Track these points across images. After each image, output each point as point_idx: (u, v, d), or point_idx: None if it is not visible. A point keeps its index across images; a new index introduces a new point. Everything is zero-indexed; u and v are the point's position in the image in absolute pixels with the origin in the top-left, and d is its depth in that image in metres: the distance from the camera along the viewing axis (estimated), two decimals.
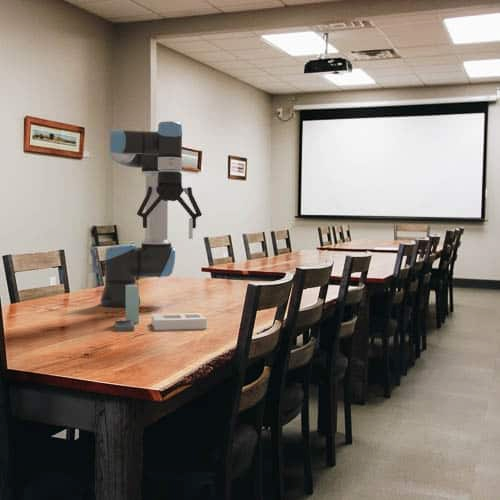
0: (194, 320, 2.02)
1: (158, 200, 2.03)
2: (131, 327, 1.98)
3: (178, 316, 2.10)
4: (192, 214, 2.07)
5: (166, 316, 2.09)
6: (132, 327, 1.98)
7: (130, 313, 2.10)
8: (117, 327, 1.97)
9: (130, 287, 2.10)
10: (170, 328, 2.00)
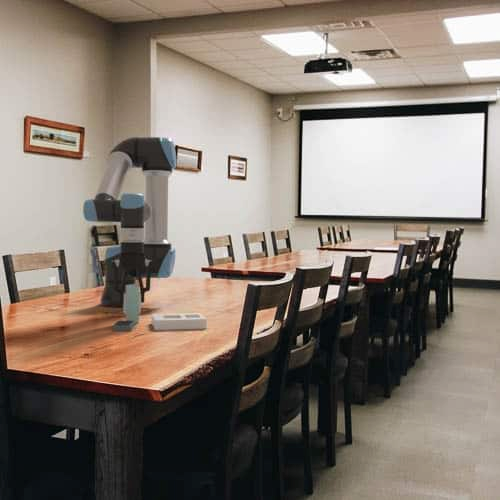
0: (194, 320, 2.02)
1: (126, 272, 2.10)
2: (128, 327, 1.97)
3: (178, 316, 2.10)
4: (141, 288, 2.11)
5: (166, 316, 2.09)
6: (129, 327, 1.97)
7: (130, 313, 2.10)
8: (114, 327, 1.97)
9: (130, 287, 2.10)
10: (170, 328, 2.00)
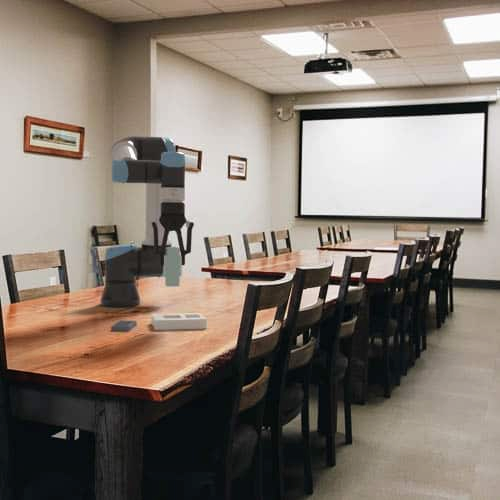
0: (194, 320, 2.02)
1: (166, 233, 2.03)
2: (126, 327, 1.97)
3: (178, 316, 2.10)
4: (182, 250, 2.05)
5: (166, 316, 2.09)
6: (127, 327, 1.97)
7: (171, 275, 2.03)
8: (113, 327, 1.97)
9: (171, 249, 2.03)
10: (170, 328, 2.00)
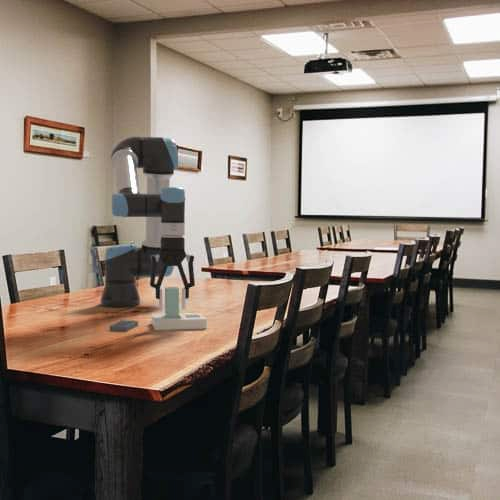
0: (194, 320, 2.02)
1: (165, 268, 2.03)
2: (124, 327, 1.97)
3: None
4: (186, 284, 2.06)
5: None
6: (125, 327, 1.97)
7: (170, 316, 2.04)
8: (111, 326, 1.97)
9: (170, 289, 2.04)
10: (170, 328, 2.00)
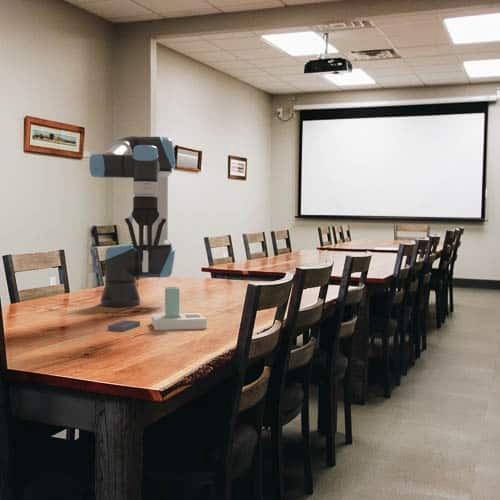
0: (194, 320, 2.02)
1: (141, 228, 2.00)
2: (121, 327, 1.97)
3: None
4: (149, 246, 2.02)
5: None
6: (122, 328, 1.97)
7: (170, 316, 2.04)
8: (109, 326, 1.98)
9: (170, 289, 2.04)
10: (170, 328, 2.00)
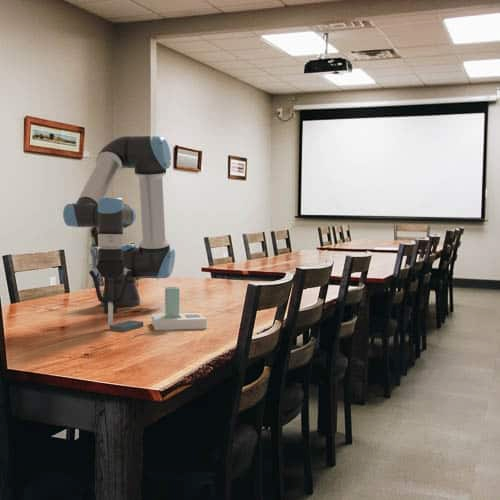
0: (194, 320, 2.02)
1: (106, 281, 1.98)
2: (122, 328, 1.96)
3: None
4: (114, 298, 2.00)
5: None
6: (123, 328, 1.96)
7: (170, 316, 2.04)
8: (111, 326, 1.98)
9: (170, 289, 2.04)
10: (170, 328, 2.00)
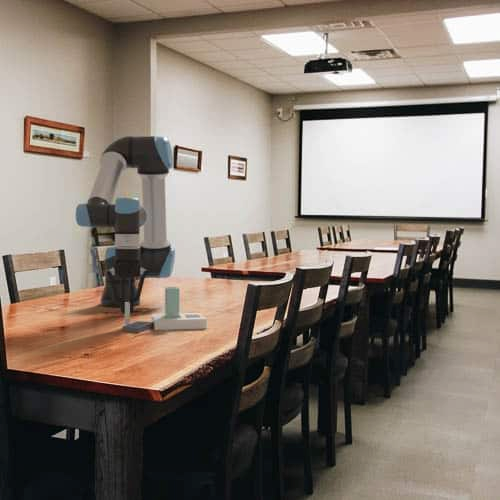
0: (194, 320, 2.02)
1: (123, 280, 2.00)
2: (136, 328, 1.95)
3: None
4: (131, 298, 2.01)
5: None
6: (137, 329, 1.95)
7: (170, 316, 2.04)
8: (124, 327, 1.96)
9: (170, 289, 2.04)
10: (170, 328, 2.00)
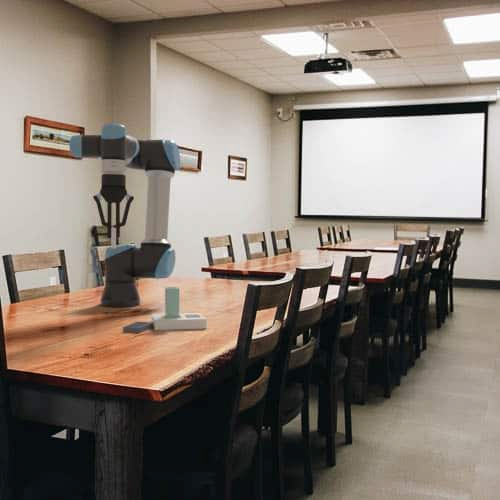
0: (194, 320, 2.02)
1: (109, 205, 2.05)
2: (137, 329, 1.95)
3: None
4: (117, 223, 2.06)
5: None
6: (138, 329, 1.95)
7: (170, 316, 2.04)
8: (124, 327, 1.96)
9: (170, 289, 2.04)
10: (170, 328, 2.00)
